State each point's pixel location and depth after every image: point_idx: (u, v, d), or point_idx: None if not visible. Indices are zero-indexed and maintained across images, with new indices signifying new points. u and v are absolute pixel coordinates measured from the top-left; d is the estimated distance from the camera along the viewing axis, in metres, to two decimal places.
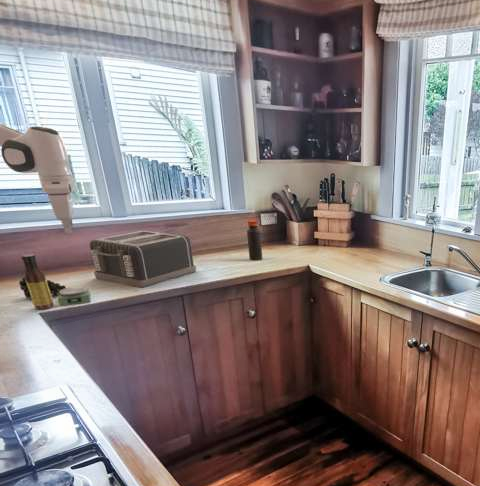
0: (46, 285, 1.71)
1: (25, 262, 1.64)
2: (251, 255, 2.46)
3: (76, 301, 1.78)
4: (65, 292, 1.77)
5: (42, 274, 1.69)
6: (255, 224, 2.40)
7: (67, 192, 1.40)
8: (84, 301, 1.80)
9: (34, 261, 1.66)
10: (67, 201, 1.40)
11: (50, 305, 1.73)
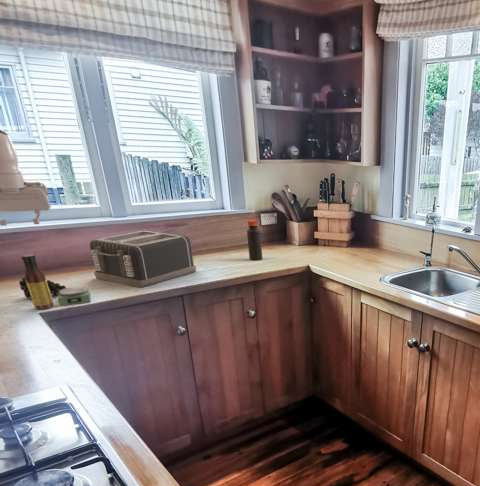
0: (46, 285, 1.71)
1: (25, 262, 1.64)
2: (251, 255, 2.46)
3: (76, 301, 1.78)
4: (65, 292, 1.77)
5: (42, 274, 1.69)
6: (255, 224, 2.40)
7: None
8: (84, 301, 1.80)
9: (34, 261, 1.66)
10: None
11: (50, 305, 1.73)
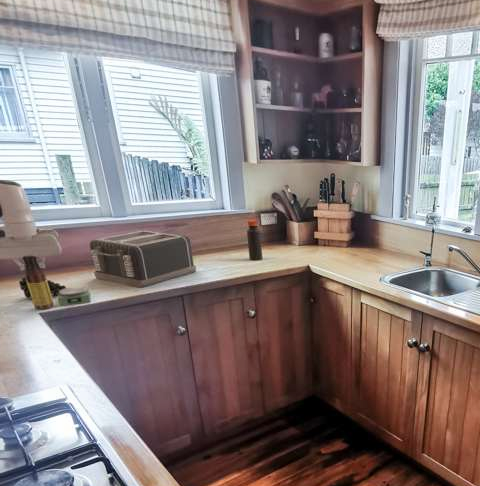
0: (46, 285, 1.71)
1: (26, 262, 1.65)
2: (251, 255, 2.46)
3: (76, 301, 1.78)
4: (65, 292, 1.77)
5: (42, 274, 1.69)
6: (255, 224, 2.40)
7: None
8: (84, 301, 1.80)
9: (35, 261, 1.66)
10: None
11: (50, 305, 1.73)
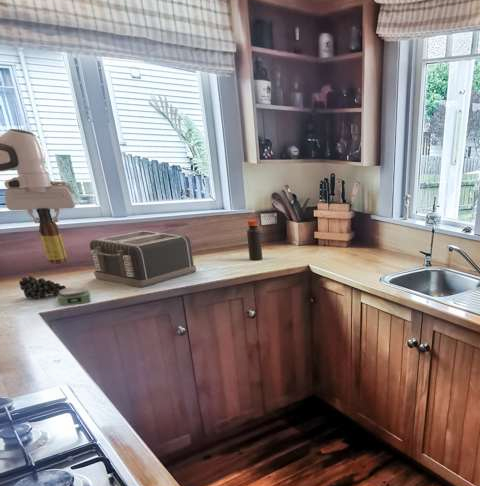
0: (60, 239, 1.70)
1: (40, 214, 1.64)
2: (251, 255, 2.46)
3: (76, 301, 1.78)
4: (65, 292, 1.77)
5: (56, 227, 1.68)
6: (255, 224, 2.40)
7: (6, 186, 1.56)
8: (84, 301, 1.80)
9: (49, 214, 1.66)
10: None
11: (64, 260, 1.73)
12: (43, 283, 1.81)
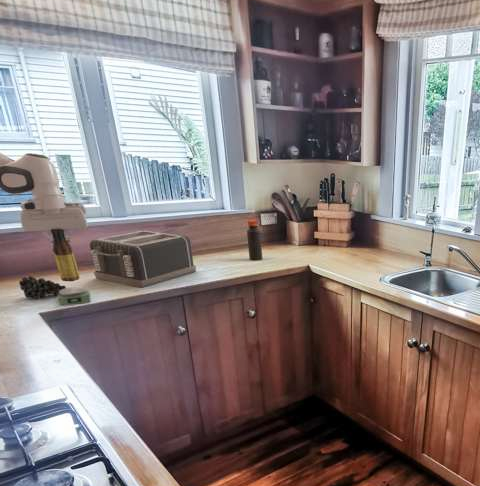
0: (73, 258, 1.75)
1: (54, 234, 1.69)
2: (251, 255, 2.46)
3: (76, 301, 1.78)
4: (65, 292, 1.77)
5: (69, 247, 1.73)
6: (255, 224, 2.40)
7: (21, 208, 1.62)
8: (84, 301, 1.80)
9: (62, 234, 1.71)
10: (20, 216, 1.63)
11: (76, 278, 1.78)
12: (43, 283, 1.81)
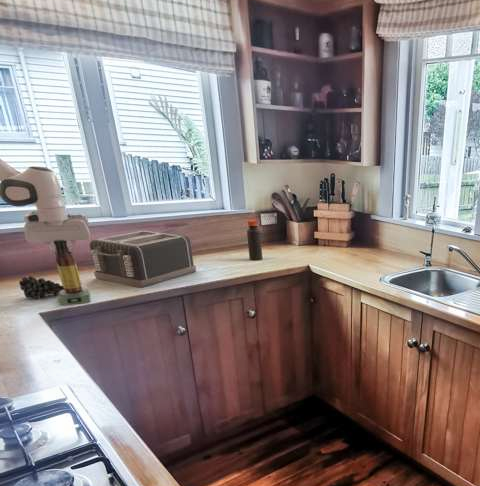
0: (76, 269, 1.77)
1: (57, 246, 1.71)
2: (251, 255, 2.46)
3: (76, 301, 1.78)
4: (65, 293, 1.77)
5: (72, 258, 1.75)
6: (255, 224, 2.40)
7: None
8: (84, 301, 1.80)
9: (65, 245, 1.73)
10: (24, 228, 1.64)
11: (79, 288, 1.80)
12: (43, 283, 1.81)
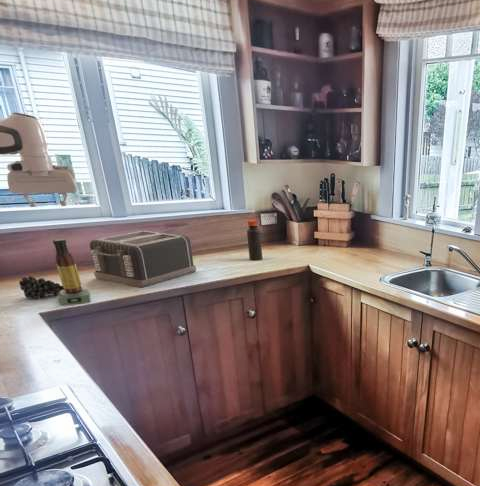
0: (75, 269, 1.77)
1: (56, 246, 1.71)
2: (251, 255, 2.46)
3: (76, 301, 1.78)
4: (65, 293, 1.77)
5: (72, 258, 1.75)
6: (255, 224, 2.40)
7: None
8: (84, 301, 1.80)
9: (65, 245, 1.73)
10: (7, 177, 1.59)
11: (79, 288, 1.80)
12: (43, 283, 1.81)
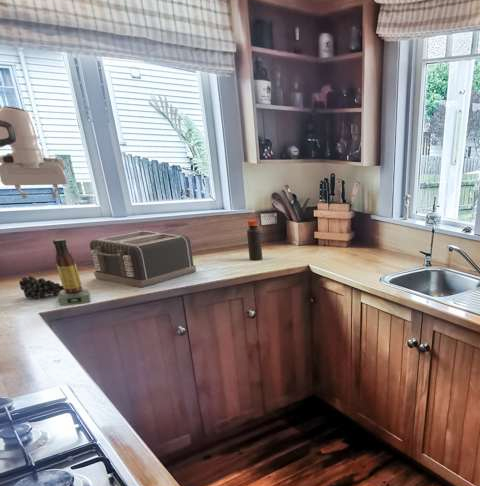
0: (75, 269, 1.77)
1: (56, 246, 1.71)
2: (251, 255, 2.46)
3: (76, 301, 1.78)
4: (65, 293, 1.77)
5: (72, 258, 1.75)
6: (255, 224, 2.40)
7: None
8: (84, 301, 1.80)
9: (65, 245, 1.73)
10: None
11: (79, 288, 1.80)
12: (43, 283, 1.81)
